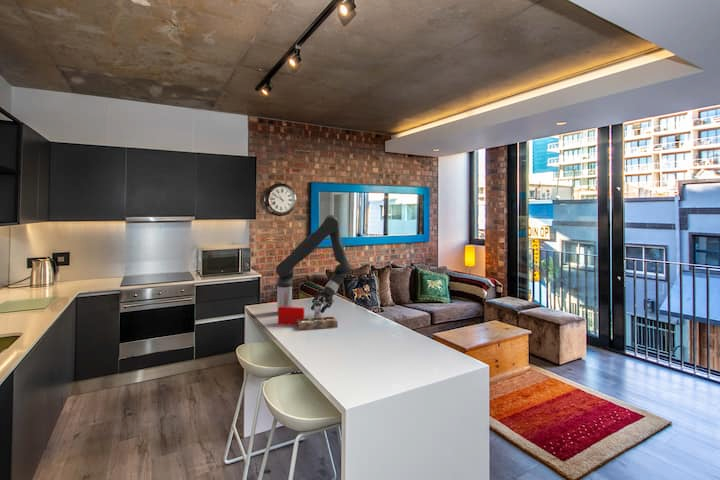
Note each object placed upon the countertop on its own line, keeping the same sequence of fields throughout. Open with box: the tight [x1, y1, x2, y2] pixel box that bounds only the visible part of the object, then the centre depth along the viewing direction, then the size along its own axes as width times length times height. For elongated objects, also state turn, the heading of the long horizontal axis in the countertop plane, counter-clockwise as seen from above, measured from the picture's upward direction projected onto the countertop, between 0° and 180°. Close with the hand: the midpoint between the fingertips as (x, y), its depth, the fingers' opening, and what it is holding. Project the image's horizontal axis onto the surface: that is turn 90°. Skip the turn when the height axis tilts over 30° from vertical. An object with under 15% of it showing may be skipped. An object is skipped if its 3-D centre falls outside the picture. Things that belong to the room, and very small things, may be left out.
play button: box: [277, 306, 305, 326], centre depth 218 cm, size 15×3×10 cm, turn 83°
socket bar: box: [296, 315, 339, 331], centre depth 215 cm, size 22×10×4 cm, turn 109°
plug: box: [313, 300, 322, 318], centre depth 228 cm, size 5×5×11 cm
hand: (316, 311), depth 227 cm, fingers open, 8 cm apart
